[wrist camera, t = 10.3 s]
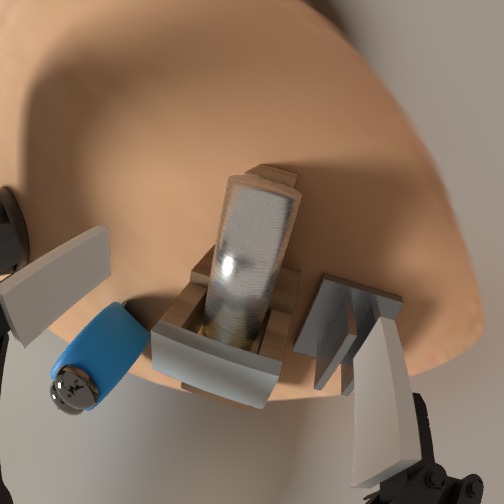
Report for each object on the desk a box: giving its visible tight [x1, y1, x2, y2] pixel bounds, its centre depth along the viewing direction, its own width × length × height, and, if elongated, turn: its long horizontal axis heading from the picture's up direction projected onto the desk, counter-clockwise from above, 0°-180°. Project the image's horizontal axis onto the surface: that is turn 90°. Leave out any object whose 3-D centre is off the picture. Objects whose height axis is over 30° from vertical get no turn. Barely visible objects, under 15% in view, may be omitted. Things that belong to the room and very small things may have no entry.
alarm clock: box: [50, 301, 151, 415], centre depth 25 cm, size 13×6×15 cm, turn 135°
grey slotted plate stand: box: [292, 274, 404, 396], centre depth 22 cm, size 8×9×6 cm
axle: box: [203, 175, 302, 347], centre depth 16 cm, size 10×4×4 cm, turn 167°
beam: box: [151, 164, 300, 412], centre depth 21 cm, size 24×8×11 cm, turn 167°
